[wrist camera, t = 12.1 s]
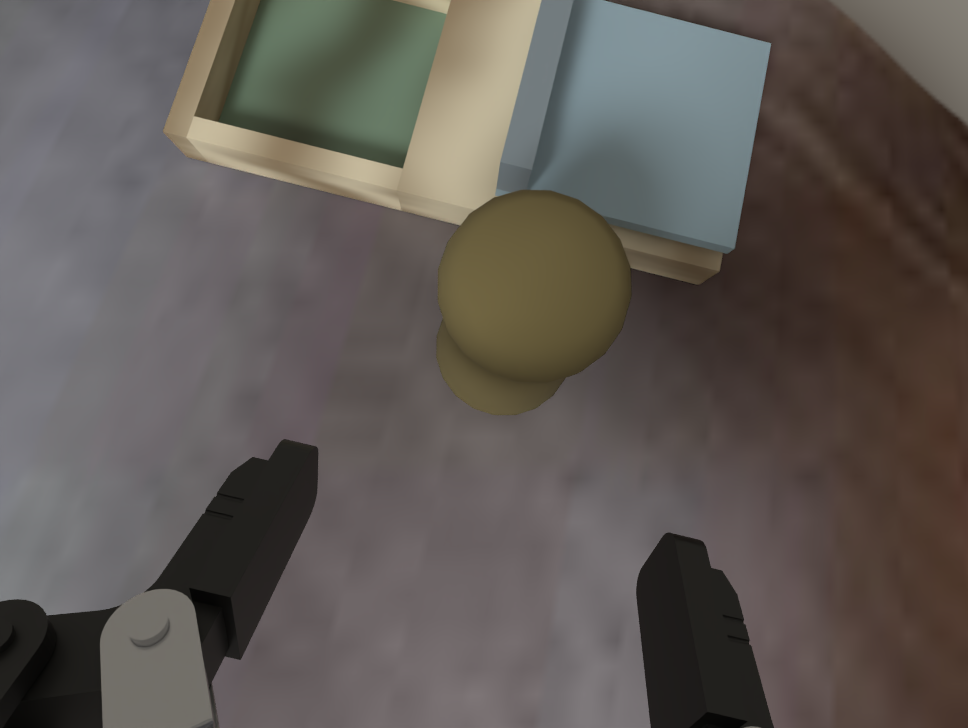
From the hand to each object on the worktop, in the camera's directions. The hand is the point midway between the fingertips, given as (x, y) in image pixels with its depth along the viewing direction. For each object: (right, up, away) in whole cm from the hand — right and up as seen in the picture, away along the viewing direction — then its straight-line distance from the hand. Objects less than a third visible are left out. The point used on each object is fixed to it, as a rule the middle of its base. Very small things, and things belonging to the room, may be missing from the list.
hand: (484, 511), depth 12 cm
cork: (+1, +4, +12) cm, 12 cm away
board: (-1, +15, +13) cm, 20 cm away
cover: (+6, +14, +11) cm, 19 cm away
